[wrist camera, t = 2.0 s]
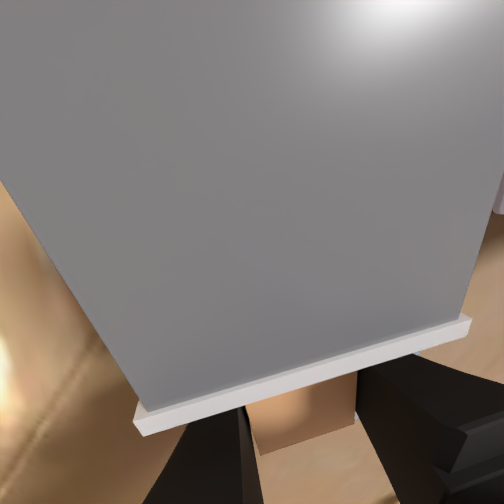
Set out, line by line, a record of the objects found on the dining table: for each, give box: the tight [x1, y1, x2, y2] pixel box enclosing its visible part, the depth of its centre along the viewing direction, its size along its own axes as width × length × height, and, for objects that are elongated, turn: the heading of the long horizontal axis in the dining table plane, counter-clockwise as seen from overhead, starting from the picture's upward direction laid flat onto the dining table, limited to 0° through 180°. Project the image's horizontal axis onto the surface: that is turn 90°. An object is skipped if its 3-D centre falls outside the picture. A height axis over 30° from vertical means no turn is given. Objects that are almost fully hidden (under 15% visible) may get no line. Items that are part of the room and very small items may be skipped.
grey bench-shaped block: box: [0, 0, 504, 437], centre depth 7 cm, size 8×7×7 cm
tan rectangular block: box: [245, 370, 358, 456], centre depth 9 cm, size 4×10×6 cm, turn 10°
